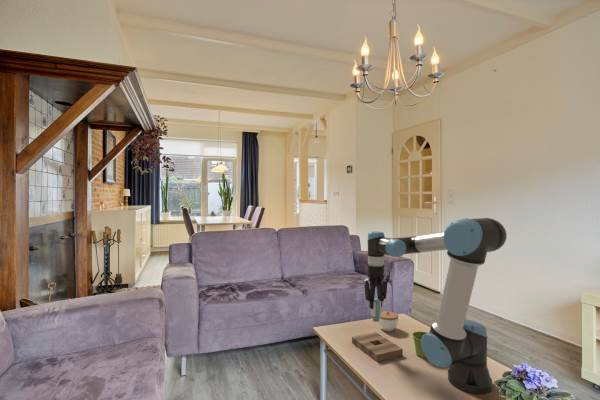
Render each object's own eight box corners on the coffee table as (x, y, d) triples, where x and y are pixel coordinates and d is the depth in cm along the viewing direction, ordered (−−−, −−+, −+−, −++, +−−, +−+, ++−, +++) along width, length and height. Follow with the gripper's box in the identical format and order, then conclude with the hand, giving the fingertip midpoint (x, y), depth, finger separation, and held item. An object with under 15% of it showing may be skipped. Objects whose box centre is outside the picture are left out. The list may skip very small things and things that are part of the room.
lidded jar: (399, 333, 170) (399, 315, 170) (378, 332, 171) (378, 314, 171) (396, 325, 180) (396, 308, 180) (376, 324, 182) (376, 307, 182)
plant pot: (436, 360, 141) (436, 340, 141) (413, 358, 143) (413, 339, 143) (432, 350, 150) (432, 332, 150) (410, 349, 152) (410, 330, 152)
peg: (380, 321, 152) (380, 299, 152) (375, 322, 150) (375, 300, 150) (376, 319, 154) (376, 297, 154) (371, 320, 153) (371, 298, 153)
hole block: (402, 355, 146) (402, 348, 146) (376, 361, 140) (376, 354, 140) (375, 338, 164) (375, 332, 164) (351, 342, 159) (351, 336, 159)
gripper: (384, 261, 159) (384, 310, 159) (357, 264, 153) (357, 314, 153) (394, 264, 152) (394, 315, 152) (366, 267, 146) (366, 320, 146)
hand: (375, 314), depth 152 cm, fingers closed on peg, 2 cm apart
